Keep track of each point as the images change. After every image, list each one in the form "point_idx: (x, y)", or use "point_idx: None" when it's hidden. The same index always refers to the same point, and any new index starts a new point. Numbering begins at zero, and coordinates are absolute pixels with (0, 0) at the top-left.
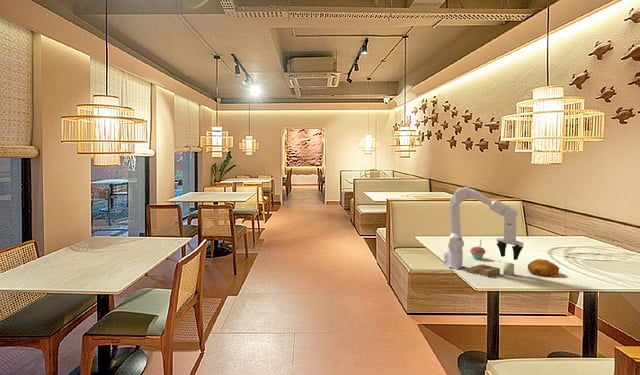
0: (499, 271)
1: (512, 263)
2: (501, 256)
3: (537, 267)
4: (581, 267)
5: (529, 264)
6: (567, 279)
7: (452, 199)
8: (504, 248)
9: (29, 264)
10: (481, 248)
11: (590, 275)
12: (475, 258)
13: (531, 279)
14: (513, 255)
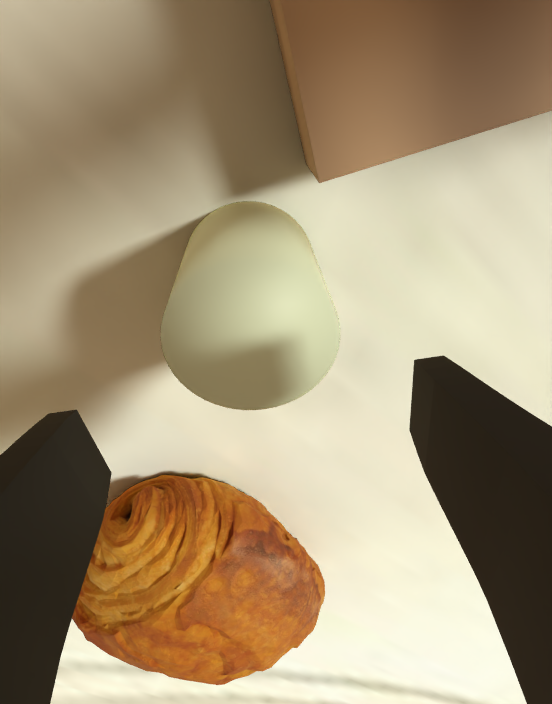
0: (308, 158)
1: (257, 408)
2: (433, 358)
3: (127, 554)
4: (243, 701)
5: (233, 553)
6: None
7: None
8: (519, 626)
9: None
10: None
11: (93, 674)
12: None
13: (5, 361)
14: (7, 487)
